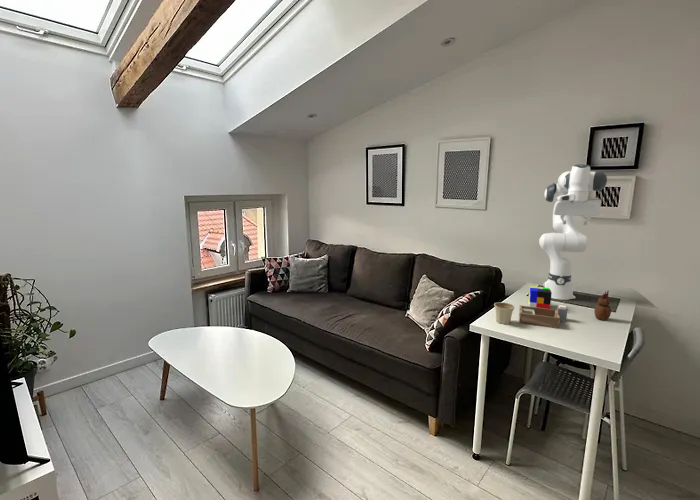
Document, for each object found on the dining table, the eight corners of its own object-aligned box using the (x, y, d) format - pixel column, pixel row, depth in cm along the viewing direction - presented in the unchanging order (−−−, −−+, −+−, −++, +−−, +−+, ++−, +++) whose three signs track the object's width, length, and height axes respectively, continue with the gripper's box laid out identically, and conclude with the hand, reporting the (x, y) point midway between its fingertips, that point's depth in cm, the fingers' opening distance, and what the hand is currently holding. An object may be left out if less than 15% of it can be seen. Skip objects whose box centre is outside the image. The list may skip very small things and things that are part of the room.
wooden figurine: (605, 317, 186) (609, 289, 184) (612, 321, 181) (616, 292, 178) (591, 316, 187) (594, 288, 184) (597, 320, 181) (601, 292, 179)
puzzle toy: (529, 307, 200) (531, 290, 198) (528, 302, 209) (529, 286, 207) (549, 310, 196) (551, 292, 195) (547, 304, 206) (549, 287, 204)
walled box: (518, 314, 190) (519, 305, 189) (555, 319, 183) (556, 309, 182) (519, 322, 178) (520, 313, 177) (558, 328, 171) (560, 318, 170)
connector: (556, 317, 186) (557, 304, 184) (565, 318, 184) (566, 305, 183) (557, 320, 182) (558, 306, 181) (566, 321, 180) (567, 308, 179)
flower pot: (504, 327, 173) (505, 309, 171) (488, 320, 181) (490, 304, 180) (517, 323, 177) (519, 306, 176) (501, 317, 185) (503, 301, 184)
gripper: (600, 197, 181) (596, 224, 183) (554, 196, 188) (551, 223, 191) (603, 197, 175) (600, 226, 178) (556, 197, 182) (553, 224, 185)
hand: (574, 224), depth 184 cm, fingers open, 8 cm apart
